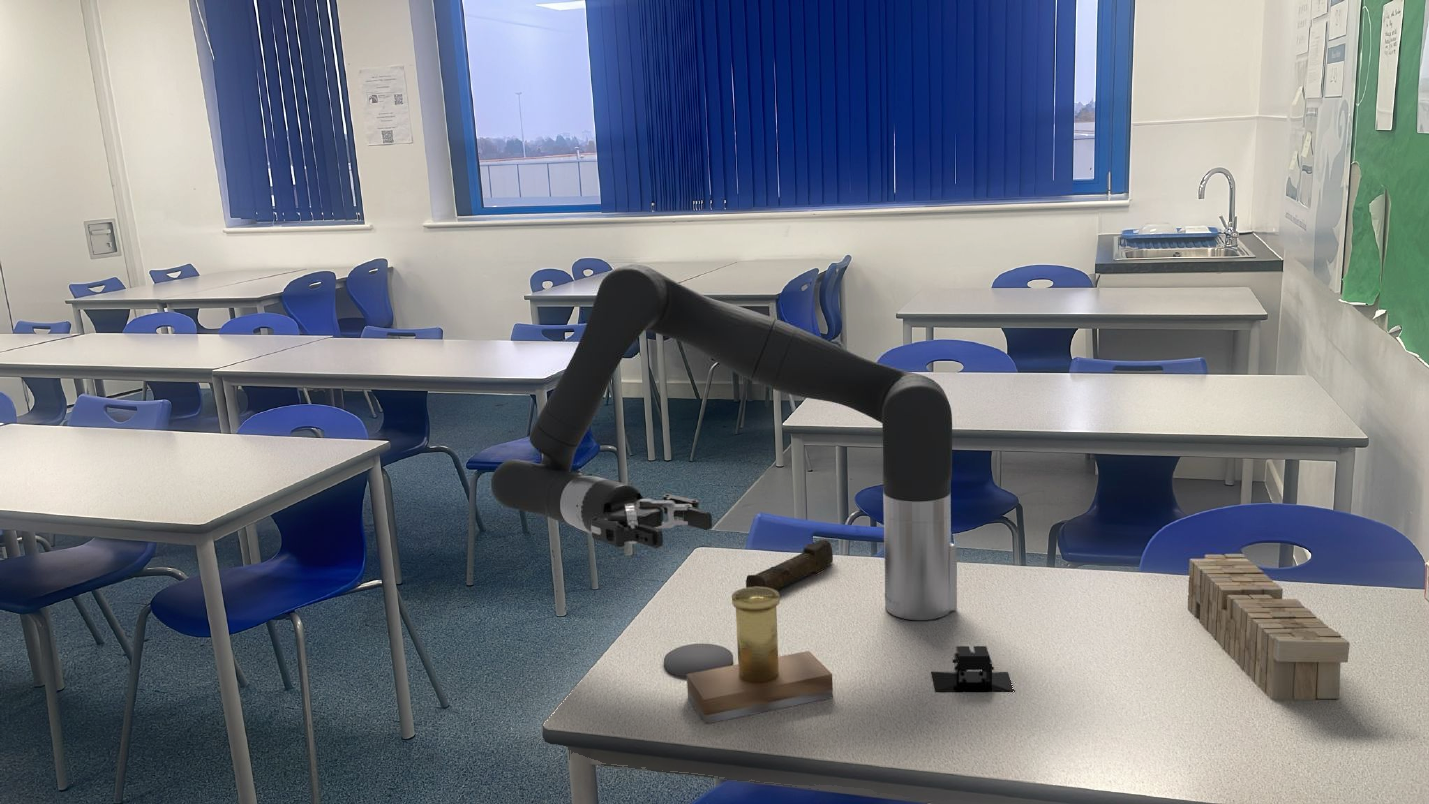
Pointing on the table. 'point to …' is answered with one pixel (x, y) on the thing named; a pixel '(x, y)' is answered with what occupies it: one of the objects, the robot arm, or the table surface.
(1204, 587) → the block tower
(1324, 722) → the table surface
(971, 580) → the table surface
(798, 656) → the body
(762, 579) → the hand tool
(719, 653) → the rubber pad
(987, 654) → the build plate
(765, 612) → the flanged brass cylinder
